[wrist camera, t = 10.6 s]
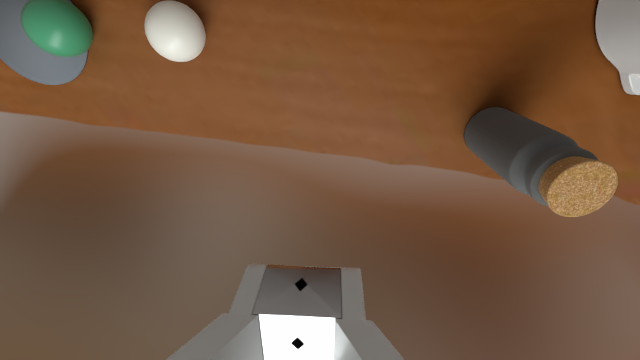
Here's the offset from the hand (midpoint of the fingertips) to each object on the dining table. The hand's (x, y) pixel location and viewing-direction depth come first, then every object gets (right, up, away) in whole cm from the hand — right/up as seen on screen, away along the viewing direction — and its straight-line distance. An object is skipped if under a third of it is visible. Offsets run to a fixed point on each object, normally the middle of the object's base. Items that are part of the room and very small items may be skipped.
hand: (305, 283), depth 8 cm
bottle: (+20, +9, +27) cm, 35 cm away
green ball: (-26, +18, +22) cm, 39 cm away
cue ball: (-14, +18, +22) cm, 31 cm away
